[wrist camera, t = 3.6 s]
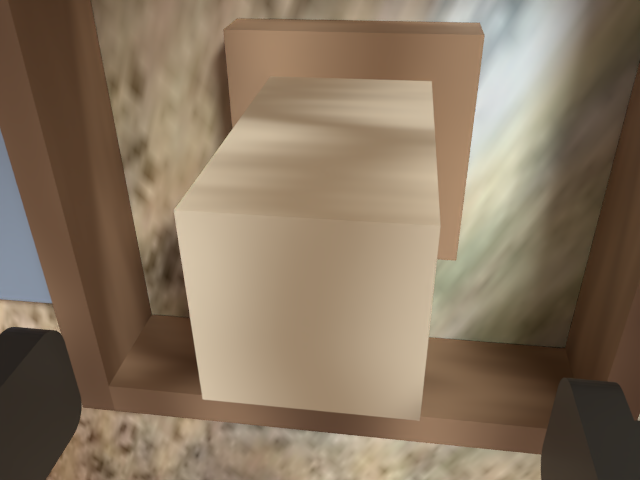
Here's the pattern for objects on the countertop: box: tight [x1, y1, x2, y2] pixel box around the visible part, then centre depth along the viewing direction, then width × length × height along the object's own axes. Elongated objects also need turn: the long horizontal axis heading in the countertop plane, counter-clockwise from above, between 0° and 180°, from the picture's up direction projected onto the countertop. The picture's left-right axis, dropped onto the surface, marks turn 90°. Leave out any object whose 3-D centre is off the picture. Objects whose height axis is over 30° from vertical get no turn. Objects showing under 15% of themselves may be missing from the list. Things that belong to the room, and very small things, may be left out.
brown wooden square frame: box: [0, 0, 640, 454], centre depth 18 cm, size 18×18×4 cm
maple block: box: [174, 76, 441, 421], centre depth 15 cm, size 4×4×8 cm
